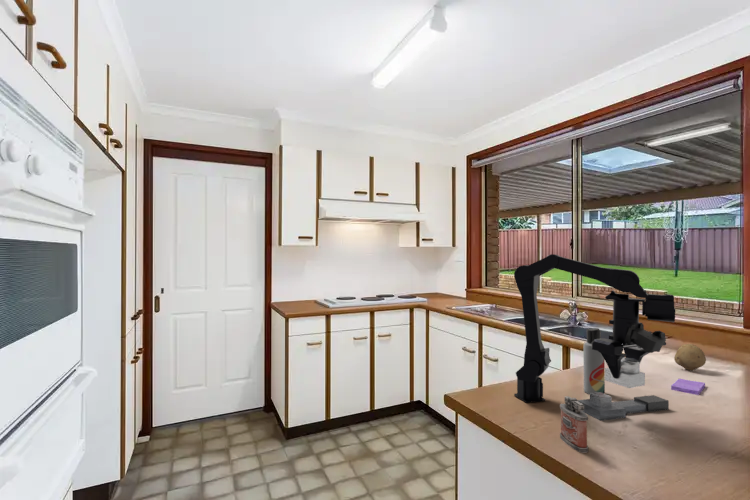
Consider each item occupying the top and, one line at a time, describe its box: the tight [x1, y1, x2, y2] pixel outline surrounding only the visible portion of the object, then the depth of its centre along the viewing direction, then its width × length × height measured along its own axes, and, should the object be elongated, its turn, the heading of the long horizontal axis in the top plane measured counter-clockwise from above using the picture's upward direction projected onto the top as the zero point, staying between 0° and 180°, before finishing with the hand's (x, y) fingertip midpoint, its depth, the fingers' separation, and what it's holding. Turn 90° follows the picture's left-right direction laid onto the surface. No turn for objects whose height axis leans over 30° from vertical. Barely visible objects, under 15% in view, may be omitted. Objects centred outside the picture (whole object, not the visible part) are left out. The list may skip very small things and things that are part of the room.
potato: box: [673, 343, 707, 372], centre depth 146 cm, size 9×9×10 cm
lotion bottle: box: [583, 327, 606, 395], centre depth 121 cm, size 6×6×20 cm
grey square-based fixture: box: [605, 357, 646, 389], centre depth 102 cm, size 6×6×6 cm
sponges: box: [670, 378, 706, 396], centre depth 126 cm, size 7×13×2 cm, turn 133°
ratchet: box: [577, 392, 670, 422], centre depth 107 cm, size 24×8×5 cm, turn 104°
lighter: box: [559, 395, 589, 454], centre depth 87 cm, size 8×3×10 cm, turn 5°
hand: (624, 376), depth 102 cm, fingers closed on grey square-based fixture, 6 cm apart
